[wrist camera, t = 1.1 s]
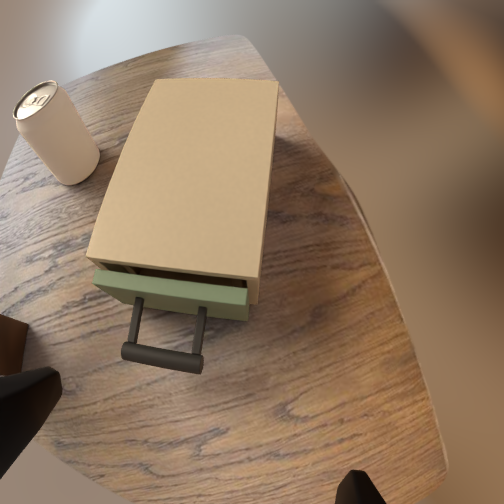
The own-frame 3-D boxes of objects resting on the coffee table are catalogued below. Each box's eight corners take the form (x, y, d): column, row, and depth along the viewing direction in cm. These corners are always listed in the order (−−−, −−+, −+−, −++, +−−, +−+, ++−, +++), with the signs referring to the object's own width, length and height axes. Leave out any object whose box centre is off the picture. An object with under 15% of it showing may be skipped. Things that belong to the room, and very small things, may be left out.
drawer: (241, 378, 25) (236, 380, 19) (113, 355, 25) (78, 348, 19) (268, 147, 33) (270, 105, 27) (167, 142, 34) (154, 102, 28)
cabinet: (257, 305, 28) (258, 277, 20) (124, 287, 29) (85, 256, 21) (275, 135, 35) (279, 81, 28) (170, 129, 36) (155, 79, 28)
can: (74, 143, 36) (35, 79, 25) (110, 148, 35) (73, 76, 24) (49, 183, 33) (-1, 122, 22) (84, 191, 33) (34, 123, 22)
